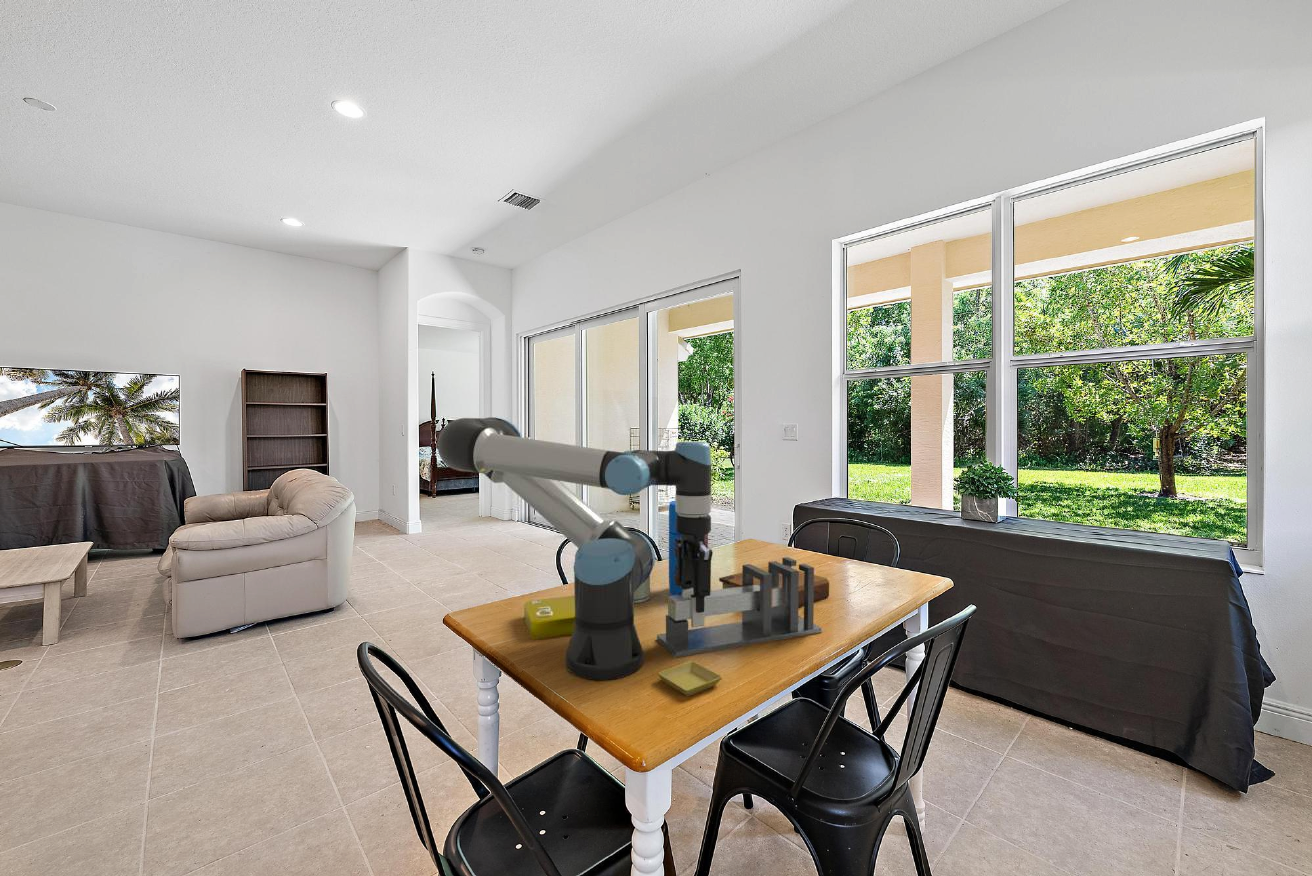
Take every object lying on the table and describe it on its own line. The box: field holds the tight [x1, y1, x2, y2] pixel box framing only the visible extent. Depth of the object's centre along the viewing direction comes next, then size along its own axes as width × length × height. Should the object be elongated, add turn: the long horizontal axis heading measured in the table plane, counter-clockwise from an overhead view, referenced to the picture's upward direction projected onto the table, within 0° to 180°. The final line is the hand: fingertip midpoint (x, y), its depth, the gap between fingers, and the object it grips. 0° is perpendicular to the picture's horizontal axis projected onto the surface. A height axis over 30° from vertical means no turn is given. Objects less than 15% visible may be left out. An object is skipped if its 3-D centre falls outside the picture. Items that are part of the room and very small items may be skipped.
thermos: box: [668, 500, 709, 596], centre depth 153 cm, size 11×11×25 cm
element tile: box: [523, 595, 575, 640], centre depth 131 cm, size 15×15×5 cm
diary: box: [718, 565, 830, 608], centre depth 150 cm, size 23×19×6 cm
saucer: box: [657, 660, 723, 697], centre depth 101 cm, size 9×9×2 cm
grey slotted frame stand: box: [656, 556, 823, 658], centre depth 123 cm, size 36×10×15 cm, turn 112°
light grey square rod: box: [667, 583, 782, 621], centre depth 122 cm, size 26×4×4 cm, turn 112°
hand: (693, 622), depth 119 cm, fingers closed on light grey square rod, 4 cm apart
